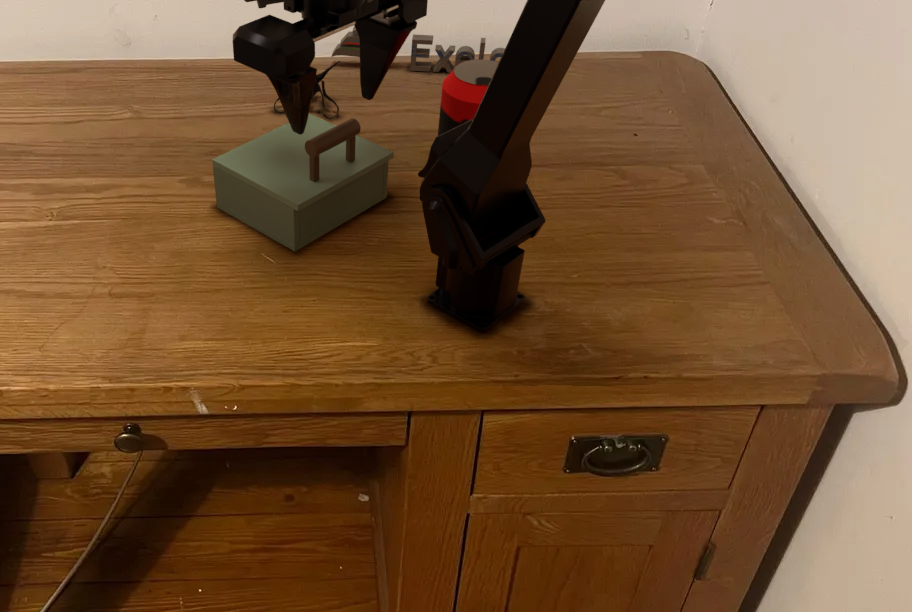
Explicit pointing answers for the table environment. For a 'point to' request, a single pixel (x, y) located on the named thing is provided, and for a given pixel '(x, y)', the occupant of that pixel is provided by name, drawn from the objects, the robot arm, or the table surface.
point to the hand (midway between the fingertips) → (333, 115)
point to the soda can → (464, 92)
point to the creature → (319, 89)
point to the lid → (304, 161)
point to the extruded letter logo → (420, 52)
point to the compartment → (306, 223)
